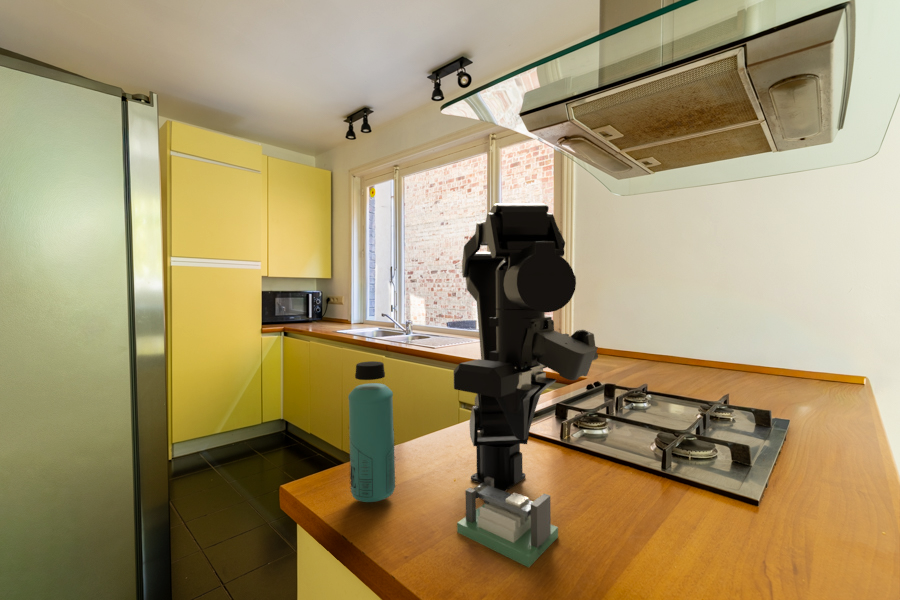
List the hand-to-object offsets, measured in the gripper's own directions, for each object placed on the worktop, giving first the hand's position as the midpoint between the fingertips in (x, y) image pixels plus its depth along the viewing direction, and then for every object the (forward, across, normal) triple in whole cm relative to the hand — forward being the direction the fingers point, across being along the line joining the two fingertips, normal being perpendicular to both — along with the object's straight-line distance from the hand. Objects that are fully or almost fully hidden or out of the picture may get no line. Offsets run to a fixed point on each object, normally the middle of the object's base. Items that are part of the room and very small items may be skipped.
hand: (521, 438), depth 48 cm
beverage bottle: (+12, -6, +21) cm, 25 cm away
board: (+12, -1, +2) cm, 12 cm away
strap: (+8, -1, +2) cm, 9 cm away
